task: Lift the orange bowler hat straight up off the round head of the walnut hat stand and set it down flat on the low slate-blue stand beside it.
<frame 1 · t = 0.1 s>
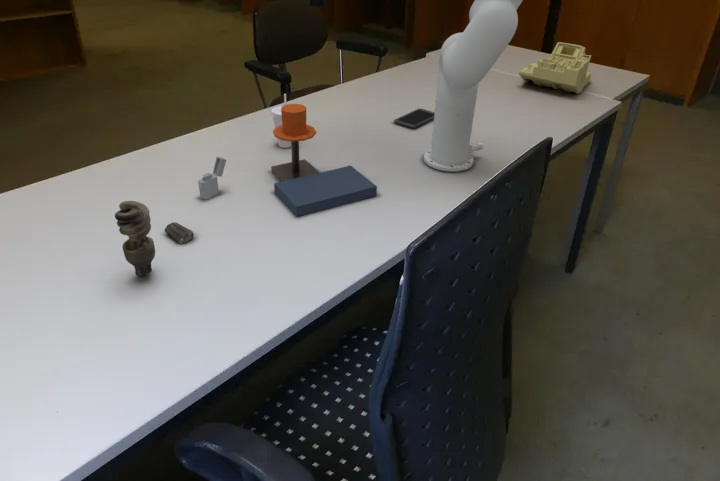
hand: (320, 1, 130), 37 cm above the table, tool pointing down, fingers open, 9 cm apart
smoothie: (285, 145, 154), on the table
light bulb: (145, 276, 105), on the table
lighter: (215, 193, 131), on the table
hat stand: (296, 175, 140), on the table
hat: (294, 133, 134), point 11 cm above the table, touching hat stand
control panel: (553, 86, 202), on the table
cell phone: (416, 120, 172), on the table
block: (179, 237, 116), on the table
low stand: (325, 194, 132), on the table
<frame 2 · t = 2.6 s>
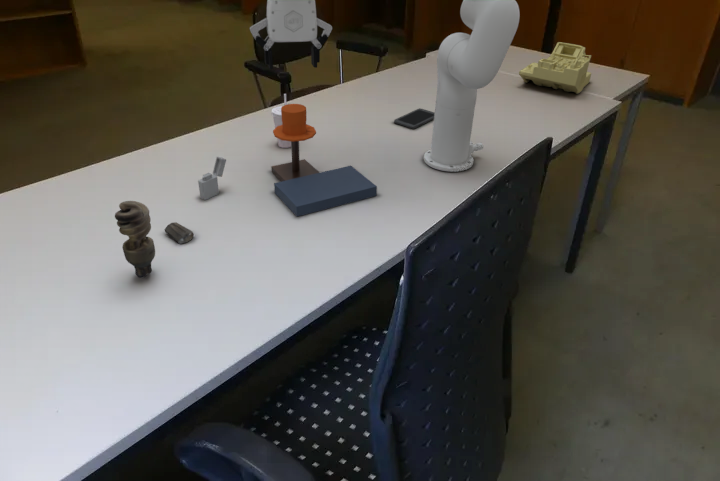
hand: (292, 66, 126), 26 cm above the table, tool pointing down, fingers open, 9 cm apart
nothing on the table moved.
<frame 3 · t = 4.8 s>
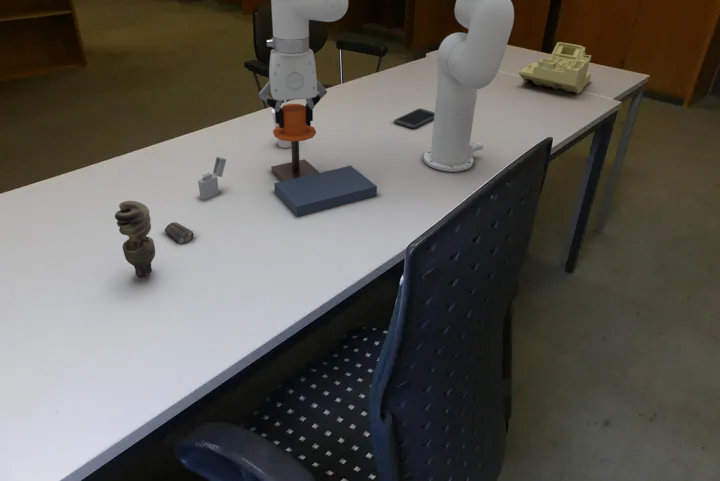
hand: (294, 124, 132), 13 cm above the table, tool pointing down, fingers closed on hat, 5 cm apart
hat: (294, 133, 134), point 11 cm above the table, touching gripper, hat stand
everything else where it was.
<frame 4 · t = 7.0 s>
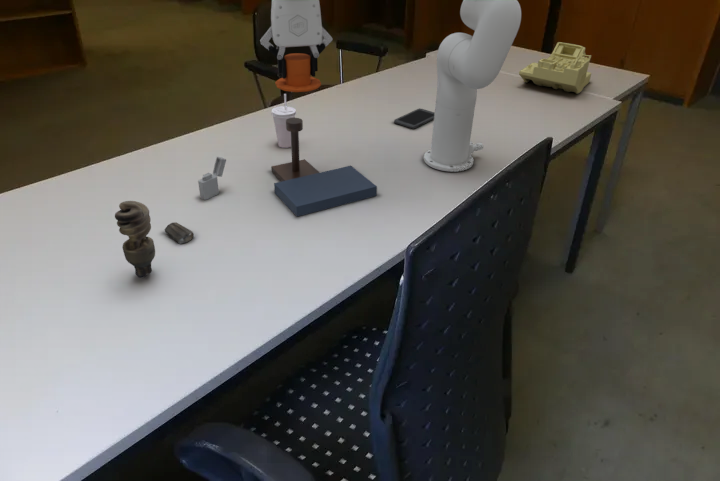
hand: (298, 74, 125), 25 cm above the table, tool pointing down, fingers closed on hat, 5 cm apart
hat: (298, 84, 126), point 23 cm above the table, touching gripper
everything else where it was.
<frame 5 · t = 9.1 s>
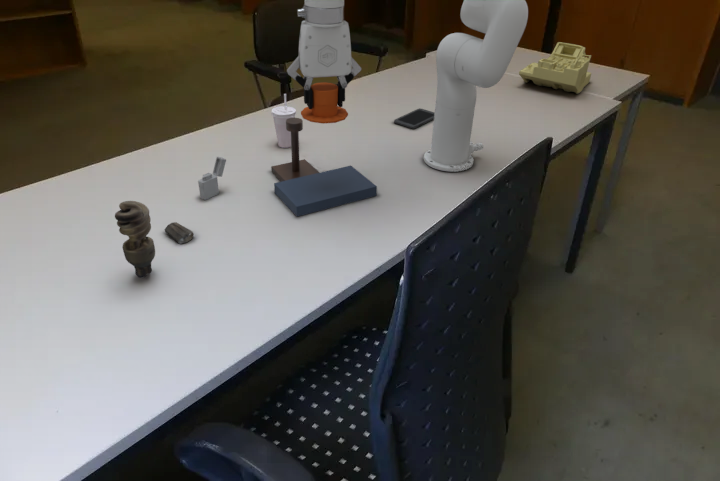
hand: (324, 105, 121), 21 cm above the table, tool pointing down, fingers closed on hat, 5 cm apart
hat: (324, 114, 122), point 19 cm above the table, touching gripper
everything else where it was.
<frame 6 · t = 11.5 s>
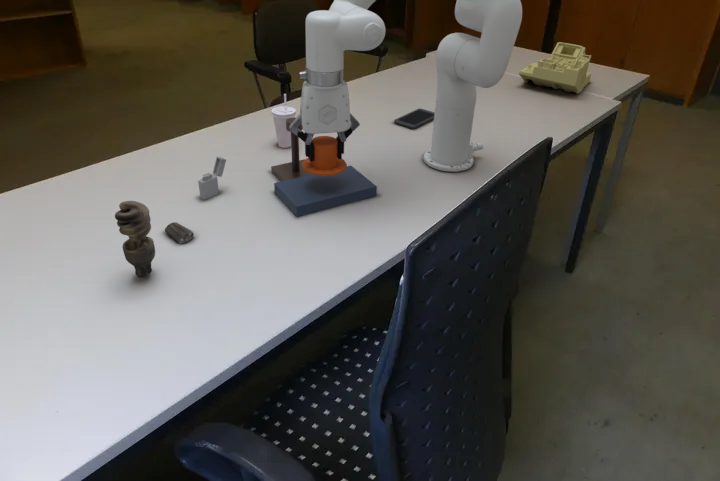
hand: (324, 157, 127), 9 cm above the table, tool pointing down, fingers closed on hat, 5 cm apart
hat: (324, 166, 128), point 7 cm above the table, touching gripper
everything else where it was.
when the fingers open (5 cm above the table, at t = 13.2 s): hat stays where it is, resting on low stand.
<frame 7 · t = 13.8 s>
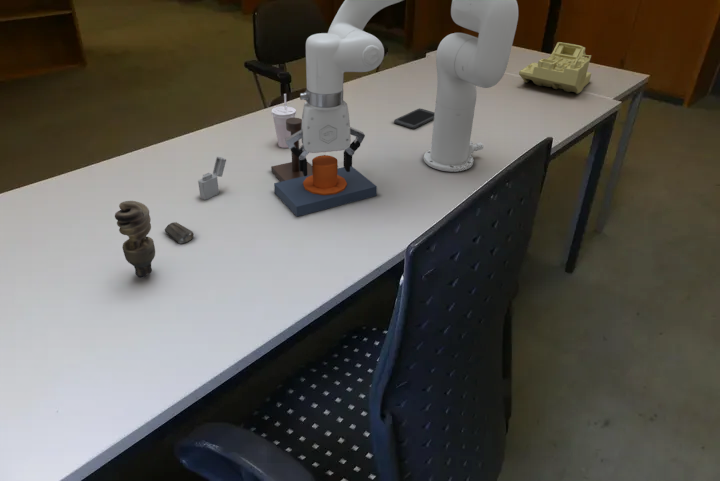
hand: (325, 171, 129), 6 cm above the table, tool pointing down, fingers open, 9 cm apart
hat: (325, 184, 131), point 2 cm above the table, touching low stand
everything else where it was.
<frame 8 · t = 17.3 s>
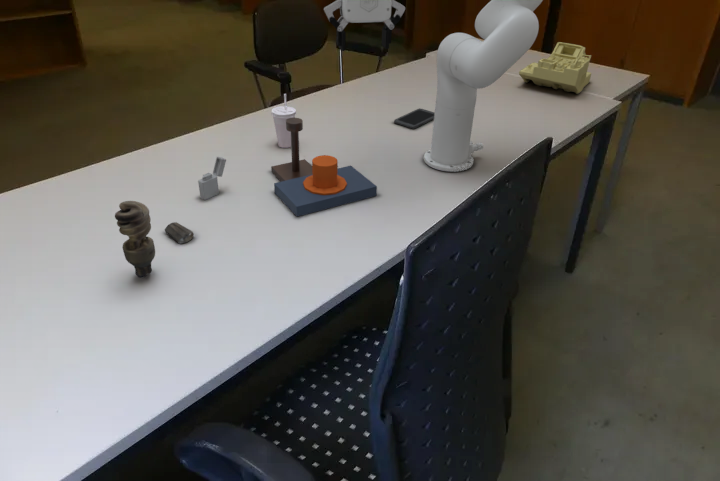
hand: (363, 48, 124), 30 cm above the table, tool pointing down, fingers open, 9 cm apart
nothing on the table moved.
at the end: hat inside the target area on the low stand (0.1 cm from its centre), point 2.5 cm above the low stand's base; hat tilted 0°; the gripper is holding nothing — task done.
